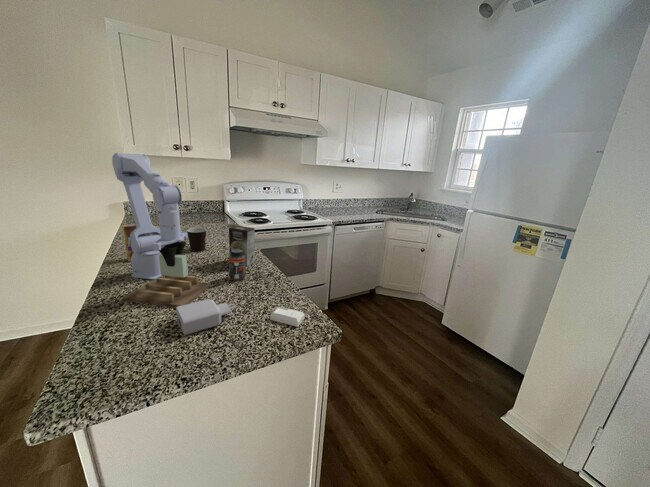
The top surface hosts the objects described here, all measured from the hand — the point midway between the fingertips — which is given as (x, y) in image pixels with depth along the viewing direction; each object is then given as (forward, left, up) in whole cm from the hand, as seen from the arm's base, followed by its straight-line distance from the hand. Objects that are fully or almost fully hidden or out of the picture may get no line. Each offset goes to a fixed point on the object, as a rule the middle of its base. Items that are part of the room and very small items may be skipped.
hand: (173, 264), depth 90 cm
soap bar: (+41, -8, -10) cm, 43 cm away
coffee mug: (-17, +42, -10) cm, 46 cm away
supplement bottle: (+15, +15, -10) cm, 23 cm away
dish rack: (-1, -2, -9) cm, 10 cm away
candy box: (-32, +22, -10) cm, 40 cm away
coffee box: (+10, +31, -10) cm, 34 cm away
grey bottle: (+20, -14, -10) cm, 26 cm away
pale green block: (0, 0, -4) cm, 4 cm away
